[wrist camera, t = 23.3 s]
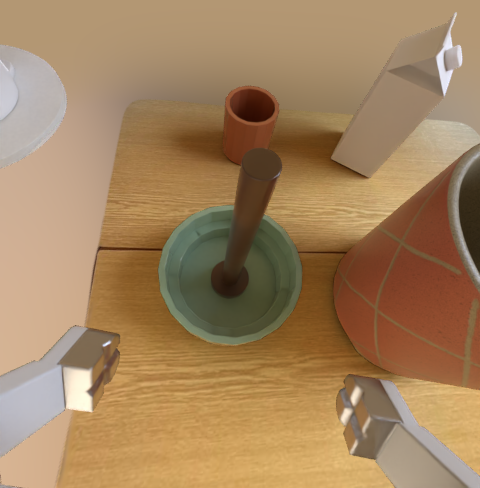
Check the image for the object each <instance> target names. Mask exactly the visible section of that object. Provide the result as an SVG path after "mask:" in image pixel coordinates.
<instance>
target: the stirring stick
mask: <svg viewBox="0 0 480 488" xmlns="http://www.w3.org/2000/svg"><path fill="white" fill-rule="evenodd" d="M281 171H282V163H281V160H280V158H279V157H278V155H277V154H276V153H274V152H273V151H271V150H269V149H266V148H254V149H251V150H249V151H248V152H246V153H245V154H244V156H243V158H242V162H241V168H240V174H239V179H238V185H237V191H236V197H235V203H234V209H233V214H232V220H231V226H230V232H229V238H228V243H227V249H226V255H225V260H224V261H221V262H219V263H218V264H217V265H216V266H215V267H214V269H213V270H212V273H211V285H212V288H213V290H214V291H215V292H216V293H217V294H218V295H219V296H221V297H223V298H228V299H231V298H236V297H238V296H240V295H241V294H242V293H243V292H244V291H245V289H246V287H247V285H248V282H249V275H248V271H247V269H246V268H245V267H244V264H245V261H246V259H247V256H248V254H249V251H250V249H251V246H252V244H253V241H254V239H255V236H256V233H257V231H258V228H259V226H260V223H261V221H262V218H263V216H264V213H265V211H266V208H267V206H268V203H269V201H270V198H271V196H272V193H273V191H274V188H275V186H276V183H277V181H278V178H279V176H280V173H281Z"/></svg>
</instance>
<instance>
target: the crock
mask: <svg viewBox="0 0 480 488" xmlns="http://www.w3.org/2000/svg"><path fill="white" fill-rule="evenodd" d="M278 114H279V104H278V102H277V100H276V98H275V97H274V96H273V95H272V94H271V93H269V92H268V91H267V90H264V89H262V88H259V87H255V86H243V87H238V88H236V89H234V90H233V91H231V92H230V93H229V94H228V96H227V97H226V102H225V117H224V132H223V151H224V153H225V155H226V156H227V157H228V159H230V160H231V161H232V162H234V163H236V164H239V165H241V162H242V158H243V156H244V154H245V153H246V152H248V151H249V150H251V149H254V148H266V149H269V145H270V142H271V138H272V135H273V131H274V128H275V125H276V121H277V118H278Z"/></svg>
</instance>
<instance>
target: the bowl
mask: <svg viewBox="0 0 480 488" xmlns="http://www.w3.org/2000/svg"><path fill="white" fill-rule="evenodd" d="M233 209H234V205H225V206H217V207H210V208H207V209H205V210H202V211H200V212H198V213H195V214H193V215H191V216H190V217H188V218H187V219H186V220H185V221H184V222H182V223H181V224H180V225H179V226H178V227H176V228H175V230H174V231H173V233H172V234H171V236H170V237H169V239H168V241H167V242H166V244H165V245H164V248H163V250H162V254H161V259H160V263H159V267H158V274H159V284H160V291H161V294H162V296H163V299H164V301H165V303H166V305H167V307H168V309H169V311H170V313H171V314H172V315H173V317H174V318H175V319H176V320H177V321H178V322H179V323H180V324H181V325H182V326H183V327H184V328H185V329H186V330H187V331H188V332H189V333H190V334H191V335H193V336H195V337H197V338H199V339H201V340H203V341H205V342H207V343H210V344H216V345H224V346H235V345H240V344H244V343H249V342H253V341H257V340H260V339H261V338H263V337H265V336H266V335H268V334H270V333H271V332H273V331H274V330H276V329H278V328H279V327H280V326H281V325H282V324H283V323H284V321H285V320H286V319H287V318H288V316H289V315H290V314H291V313H292V311H293V310H294V309H295V306H296V303H297V300H298V297H299V295H300V292H301V288H302V265H301V261H300V258H299V255H298V251H297V248H296V246H295V244H294V243H293V241H292V240H291V238H290V237H289V235H288V234H287V232H286V231H285V230H284V229H283V228H282V227H281V226H280V225H279V224H277V223H276V222H275V221H274V220H273V219H271V218H270V217H269V216H267V215H265V214H264V216H263V218H262V221H261V223H260V226H259V228H258V231H257V233H256V236H255V239H254V241H253V244H252V246H251V249H250V251H249V254H248V256H247V259H246V261H245V264H244V267H245V268H246V269H247V271H248V275H249V282H248V285H247V287H246V289H245V291H244V292H243V293H242V294H241V295H240V296H238V297H236V298H231V299H228V298H223V297H221V296H219V295H218V294H217V293H216V292H215V291H214V290H213V288H212V285H211V273H212V270H213V269H214V267H215V266H216V265H217V264H218V263H219V262H221V261H224V260H225V255H226V249H227V243H228V238H229V232H230V226H231V220H232V214H233Z"/></svg>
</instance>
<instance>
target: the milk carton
mask: <svg viewBox="0 0 480 488" xmlns="http://www.w3.org/2000/svg"><path fill="white" fill-rule="evenodd" d="M456 15H457V13H454V15H453V16H452V17H451V19H450V20H449V22H448V23H447V24H444V25H441V26H438V27H435V28H433V29H430V30H427V31H424V32H421V33H418V34H415V35H412V36H410V37H407V38H404V39H401V40H400V42H399V43H398V45H397V47H396V48H395V50H394V52H393V53H392V55H391V57H390V58H389V60H388V61H387V63H386V65H385V66H384V68H383V69H382V71H381V73H380V75H379V76H378V78H377V79H376V81H375V83H374V84H373V86H372V87H371V89H370V91H369V92H368V94H367V96H366V97H365V99H364V100H363V102H362V104H361V106H360V107H359V109H358V110H357V112H356V113H355V115H354V117H353V118H352V120H351V122H350V123H349V125H348V127H347V128H346V130H345V131H344V133H343V135H342V137H341V139H340V141H339V143H338V145H337V147H336V148H335V150H334V152H333V154H332V156H331V159H332V160H334V161H336V162H338V163H340V164H342V165H344V166H346V167H348V168H350V169H352V170H354V171H356V172H358V173H360V174H362V175H364V176H366V177H368V178H371V177H372V175H373V174H374V173H375V172H376V171H377V170H378V169H379V168H380V167H381V166H382V165H383V164H384V162H385V161H386V160H387V159H388V158H389V157H390V156H391V155H392V154H393V153H394V152H395V150H396V149H397V148H398V147H399V146H400V145H401V144H402V143H403V142H404V141H405V140H406V139H407V137H408V136H409V135H410V134H411V133H412V132H413V131H414V130H415V129H416V128H417V127H418V126H419V124H420V123H421V122H422V121H423V120H424V119H425V118H426V117H427V116H428V115H429V114H430V112H431V111H432V110H433V109H434V108H435V107H436V106H437V105H438V104H439V103H440V101H441V100H442V99H443V98H444V96H445V93H446V91H447V87H448V84H449V81H450V78H451V75H452V72H453V69H456V68H458V67H460V66H461V64H462V51H461V47H460V45H457V46H454V47H452V40H451V35H450V31H451V28H452V26H453V23H454V20H455V17H456Z"/></svg>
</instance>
